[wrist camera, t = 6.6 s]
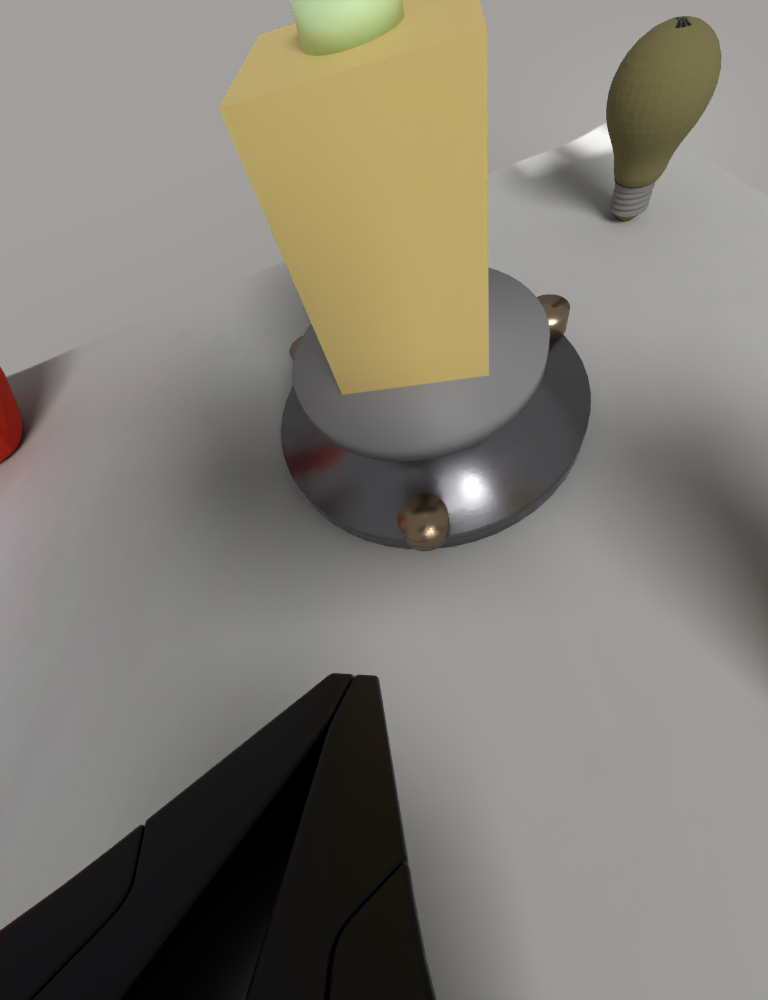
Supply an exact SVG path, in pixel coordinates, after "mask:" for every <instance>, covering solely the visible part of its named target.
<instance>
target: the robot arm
mask: <svg viewBox="0 0 768 1000" xmlns="http://www.w3.org/2000/svg"><path fill="white" fill-rule="evenodd" d="M0 1000H436V996H435V992H434V988H433V984H432V980H431V976H430V972H429V968H428V964H427V960H426V955H425V950H424V945H423V939H422V934H421V929H420V924H419V919H418V914H417V908H416V903H415V897H414V891H413V885H412V879H411V872H410V868H409V866H408V856H407V850H406V844H405V837H404V831H403V825H402V819H401V813H400V806H399V800H398V794H397V788H396V782H395V775H394V769H393V763H392V757H391V751H390V744H389V738H388V732H387V726H386V720H385V713H384V707H383V701H382V695H381V689H380V682H379V678H378V677H377V676H372V675H356V676H355V677H354V676H353V675H352V674H340V673H332V674H330V675H329V676H327V677H326V678H325V679H323V680H322V681H321V682H320V683H318V684H317V685H316V686H315V687H313V688H312V689H311V690H310V691H308V692H307V693H306V694H305V695H303V696H302V697H301V698H300V699H298V700H297V701H296V702H295V703H293V704H292V705H291V706H289V707H288V708H287V709H286V710H284V711H283V712H282V713H281V714H279V715H278V716H277V717H276V718H274V719H273V720H272V721H271V722H269V723H268V724H267V725H266V726H264V727H263V728H262V729H261V730H259V731H258V732H257V733H256V734H254V735H253V736H252V737H250V738H249V739H248V740H247V741H245V742H244V743H243V744H242V745H240V746H239V747H238V748H237V749H235V750H234V751H233V752H232V753H230V754H229V755H228V756H227V757H225V758H224V759H223V760H222V761H220V762H219V763H218V764H216V765H215V766H214V767H213V768H211V769H210V770H209V771H208V772H206V773H205V774H204V775H203V776H201V777H200V778H199V779H198V780H196V781H195V782H194V783H193V784H191V785H190V786H189V787H188V788H186V789H185V790H184V791H183V792H181V793H180V794H179V795H177V796H176V797H175V798H174V799H172V800H171V801H170V802H169V803H167V804H166V805H165V806H164V807H162V808H161V809H160V810H159V811H157V812H156V813H155V814H154V815H152V816H151V817H150V818H149V819H147V821H146V823H145V826H144V825H140V826H138V827H137V828H136V829H134V830H133V831H132V832H131V833H129V834H128V835H127V836H126V837H124V838H123V839H122V840H121V841H119V842H118V843H117V844H115V845H114V846H113V847H112V848H110V849H109V850H108V851H107V852H105V853H104V854H103V855H101V856H100V857H99V858H97V859H96V860H95V861H93V862H92V863H91V864H90V865H88V866H87V867H86V868H84V869H83V870H82V871H80V872H79V873H78V874H77V875H75V876H74V877H73V878H71V879H70V880H69V881H67V882H66V883H65V884H64V885H62V886H61V887H60V888H58V889H57V890H55V891H54V892H53V893H51V894H50V895H48V896H47V897H46V898H44V899H43V900H42V901H40V902H39V903H37V904H36V905H35V906H33V907H32V908H30V909H29V910H28V911H26V912H25V913H24V914H22V915H21V916H19V917H18V918H17V919H15V920H14V921H12V922H11V923H10V924H8V925H7V926H6V927H4V928H3V929H1V930H0Z"/></svg>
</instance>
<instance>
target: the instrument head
mask: <svg viewBox="0 0 768 1000" xmlns="http://www.w3.org/2000/svg"><path fill="white" fill-rule="evenodd" d="M289 1H290V5H291V9H292V12H293V16H294V19H295V23H294V24H291V25H288V26H285V27H282V28H279V29H276V30H273V31H270V32H267V33H264V34H261V35H259V37H258V39H257V40H256V42H255V44H254V46H253V48H252V49H251V51H250V53H249V55H248V56H247V58H246V60H245V62H244V64H243V65H242V67H241V69H240V71H239V72H238V74H237V76H236V78H235V80H234V81H233V83H232V85H231V87H230V88H229V90H228V92H227V94H226V96H225V97H224V99H223V101H222V103H221V104H220V106H219V109H220V112H221V114H222V117H223V119H224V121H225V124H226V126H227V128H228V130H229V132H230V135H231V137H232V140H233V142H234V145H235V147H236V149H237V152H238V154H239V156H240V159H241V161H242V163H243V165H244V168H245V170H246V172H247V175H248V177H249V179H250V182H251V184H252V186H253V189H254V191H255V193H256V196H257V198H258V200H259V202H260V205H261V207H262V210H263V212H264V214H265V217H266V219H267V221H268V223H269V226H270V228H271V230H272V233H273V235H274V237H275V240H276V242H277V245H278V247H279V249H280V251H281V254H282V256H283V258H284V261H285V263H286V265H287V268H288V270H289V272H290V275H291V277H292V279H293V282H294V284H295V286H296V289H297V291H298V293H299V296H300V298H301V300H302V303H303V305H304V307H305V310H306V312H307V314H308V317H309V319H310V321H311V325H310V327H309V328H308V329H307V331H306V333H305V334H304V336H303V338H302V339H301V342H300V344H299V346H298V348H297V351H296V355H295V358H294V364H293V384H294V388H295V392H296V395H297V397H298V399H299V401H300V403H301V405H302V407H303V409H304V410H305V412H306V414H307V416H308V418H309V419H310V421H311V422H312V424H313V425H314V426H315V428H316V429H317V430H318V431H319V432H320V433H321V434H322V435H323V436H324V437H325V438H326V439H328V440H329V441H330V442H332V443H333V444H335V445H336V446H338V447H340V448H342V449H344V450H346V451H348V452H350V453H353V454H356V455H359V456H362V457H366V458H371V459H376V460H383V461H397V462H402V461H420V460H426V459H433V458H438V457H442V456H446V455H449V454H453V453H456V452H459V451H461V450H464V449H467V448H469V447H472V446H474V445H476V444H478V443H480V442H482V441H484V440H486V439H488V438H489V437H491V436H492V435H494V434H495V433H497V432H499V431H500V430H502V429H503V428H504V427H506V426H507V425H508V424H509V423H510V422H511V421H513V420H514V419H515V418H516V417H517V416H518V415H519V414H520V413H521V412H522V411H523V410H524V408H525V407H526V406H527V405H528V404H529V402H530V401H531V399H532V398H533V396H534V395H535V393H536V392H537V390H538V388H539V386H540V383H541V381H542V379H543V375H544V372H545V368H546V363H547V356H548V349H549V338H550V331H549V323H548V319H547V316H546V313H545V310H544V308H543V307H542V305H541V303H540V302H539V300H538V299H537V297H536V296H535V295H534V294H533V293H532V292H531V291H530V290H529V289H528V288H527V287H526V286H524V285H523V284H522V283H521V282H519V281H518V280H516V279H514V278H513V277H511V276H509V275H507V274H504V273H502V272H500V271H497V270H494V269H491V268H488V136H487V134H488V131H487V26H486V22H485V18H484V15H483V11H482V7H481V3H480V0H289Z"/></svg>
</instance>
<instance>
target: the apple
mask: <svg viewBox="0 0 768 1000" xmlns="http://www.w3.org/2000/svg"><path fill="white" fill-rule="evenodd" d="M22 425H23V422H22V419H21V415H20V411H19V408H18V406H17V403H16V401H15V398H14V396H13V394H12V391H11V389H10V386H9V384H8V381H7V379H6V377H5V374H4V372H3V371H2V369H1V368H0V462H2V461H3V460H4V459H6V458H7V457H8V456H9V455H11V454H12V453H13V452H14V450H15V449H16V448H17V447H18V445H19V442H20V440H21V434H22Z"/></svg>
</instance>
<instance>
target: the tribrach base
mask: <svg viewBox="0 0 768 1000" xmlns="http://www.w3.org/2000/svg"><path fill="white" fill-rule="evenodd" d="M537 299H538V300H539V302H540V303H541V305H542V307H543V308H544V310H545V313H546V316H547V319H548V323H549V331H550V338H549V349H548V356H547V363H546V368H545V372H544V375H543V379H542V381H541V383H540V386H539V388H538V390H537V392H536V393H535V395H534V396H533V398H532V399H531V401H530V402H529V404H528V405H527V406H526V407H525V408H524V410H523V411H522V412H521V413H520V414H519V415H518V416H517V417H516V418H515V419H514V420H513V421H511V422H510V423H509V424H508V425H507V426H506V427H504V428H503V429H502V430H500V431H499V432H497V433H495V434H494V435H492V436H491V437H489V438H488V439H486V440H484V441H482V442H480V443H478V444H476V445H474V446H472V447H469V448H467V449H464V450H461V451H459V452H456V453H453V454H449V455H446V456H442V457H438V458H433V459H426V460H420V461H402V462H397V461H383V460H376V459H371V458H366V457H362V456H359V455H356V454H353V453H350V452H348V451H346V450H344V449H342V448H340V447H338V446H336V445H335V444H333V443H332V442H330V441H329V440H328V439H326V438H325V437H324V436H323V435H322V434H321V433H320V432H319V431H318V430H317V429H316V428H315V426H314V425H313V424H312V422H311V421H310V419H309V418H308V416H307V414H306V412H305V410H304V409H303V407H302V405H301V403H300V401H299V399H298V397H297V395H296V392H295V388H294V385H293V387H292V390H291V392H290V394H289V397H288V399H287V402H286V406H285V410H284V413H283V420H282V429H281V432H282V447H283V451H284V456H285V460H286V463H287V465H288V468H289V470H290V473H291V475H292V476H293V478H294V480H295V481H296V483H297V485H298V486H299V488H300V489H301V490H302V492H303V493H304V494H305V495H306V497H307V498H308V499H309V500H310V502H311V503H312V504H313V505H314V506H315V507H316V508H317V510H318V511H319V512H320V513H321V514H322V515H324V516H325V517H326V518H327V519H328V520H330V521H331V522H332V523H333V524H335V525H337V526H338V527H340V528H341V529H343V530H345V531H346V532H348V533H350V534H352V535H355V536H357V537H359V538H362V539H364V540H367V541H370V542H374V543H377V544H381V545H385V546H391V547H398V548H405V549H416V550H420V551H431V550H434V549H437V548H444V547H453V546H457V545H461V544H466V543H470V542H474V541H477V540H480V539H483V538H485V537H488V536H491V535H493V534H496V533H498V532H500V531H502V530H504V529H506V528H508V527H510V526H512V525H514V524H516V523H518V522H519V521H520V520H522V519H523V518H525V517H526V516H528V515H529V514H531V513H532V512H533V511H535V510H536V509H537V508H538V507H539V506H541V505H542V504H543V503H544V502H545V501H546V500H547V499H548V498H549V497H550V496H551V495H552V494H553V493H554V492H555V491H556V489H557V488H558V487H559V486H560V485H561V483H562V482H563V481H564V480H565V478H566V476H567V475H568V473H569V471H570V470H571V468H572V466H573V465H574V463H575V460H576V458H577V455H578V453H579V450H580V448H581V445H582V442H583V439H584V436H585V432H586V429H587V425H588V420H589V415H590V402H591V392H590V387H589V381H588V376H587V373H586V370H585V368H584V365H583V362H582V360H581V359H580V357H579V355H578V354H577V352H576V350H575V348H574V347H573V346H572V345H571V343H570V342H569V341H568V340H567V339H566V337H565V336H564V335H563V334H564V333H565V331H566V326H567V321H568V315H569V310H570V305H569V303H568V301H567V300H566V299H565V298H563V297H561V296H558V295H542V296H538V297H537ZM302 338H303V336H302V337H300V338H298V339H297V340H296V341H295V342H294V343H293V344H292V346H291V348H290V355H291V357H292V359H293V361H294V358H295V355H296V351H297V348H298V346H299V344H300V342H301V339H302Z"/></svg>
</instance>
